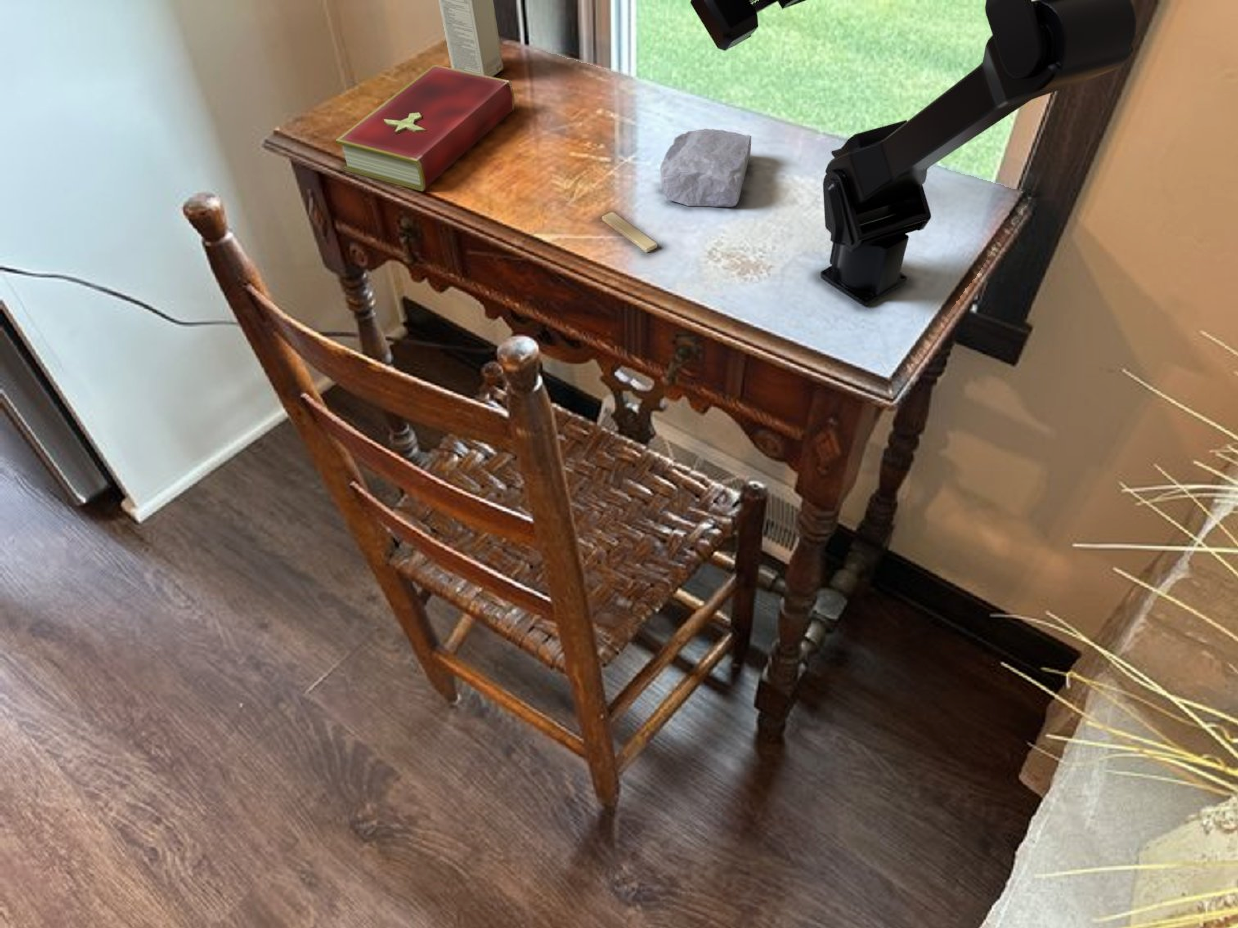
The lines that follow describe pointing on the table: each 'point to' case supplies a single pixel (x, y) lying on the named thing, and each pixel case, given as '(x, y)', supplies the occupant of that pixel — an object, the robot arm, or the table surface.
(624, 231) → the maple strip
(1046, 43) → the robot arm
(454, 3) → the cosmetic box
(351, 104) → the table surface
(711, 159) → the stone block
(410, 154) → the hardcover book
